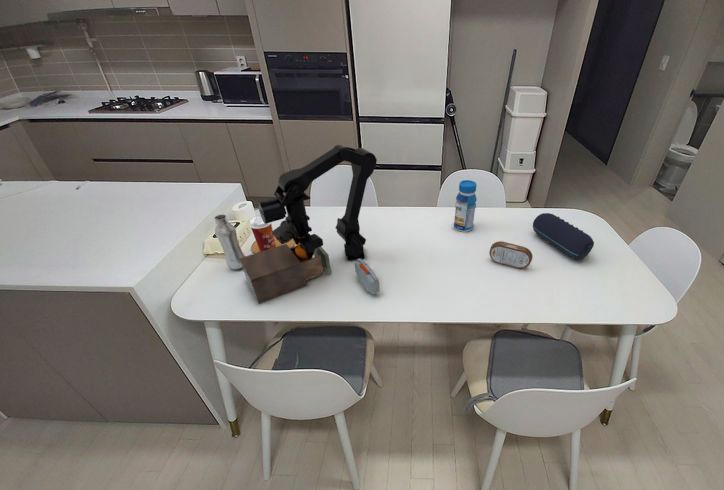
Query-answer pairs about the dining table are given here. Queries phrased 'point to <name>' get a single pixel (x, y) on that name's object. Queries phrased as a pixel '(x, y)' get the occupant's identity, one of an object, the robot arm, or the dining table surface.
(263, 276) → the cabinet
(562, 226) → the portable speaker
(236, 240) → the plastic bottle
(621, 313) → the dining table surface
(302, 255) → the orange
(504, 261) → the tin
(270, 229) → the paper cup
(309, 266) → the drawer
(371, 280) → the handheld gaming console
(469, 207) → the beverage bottle
